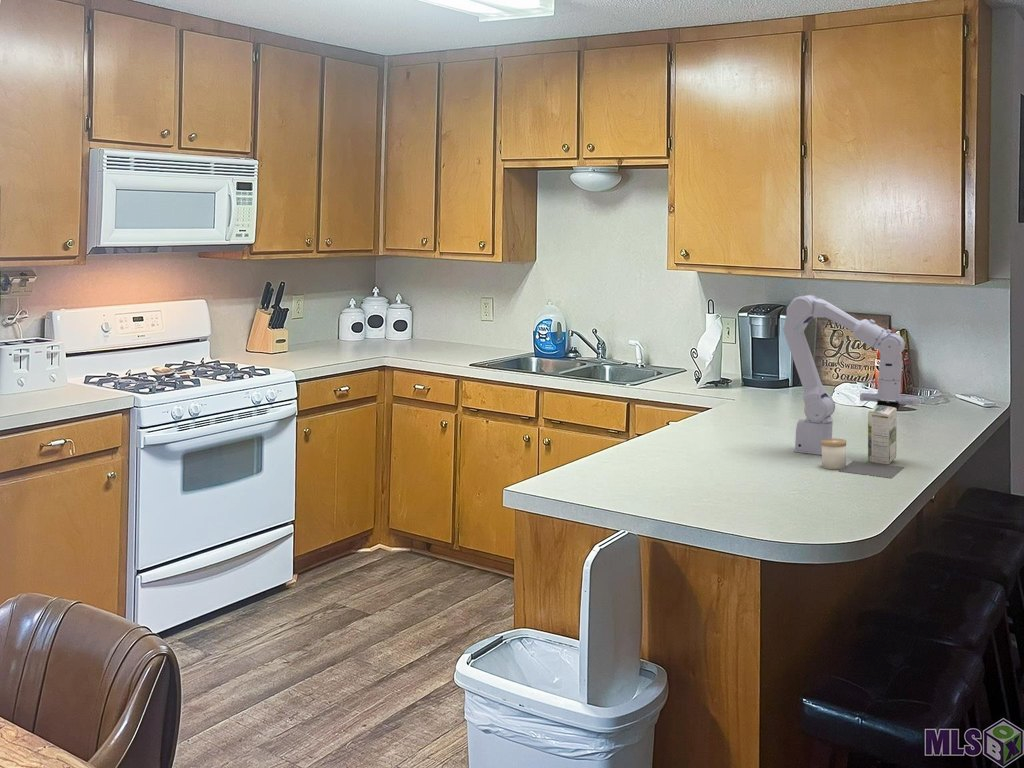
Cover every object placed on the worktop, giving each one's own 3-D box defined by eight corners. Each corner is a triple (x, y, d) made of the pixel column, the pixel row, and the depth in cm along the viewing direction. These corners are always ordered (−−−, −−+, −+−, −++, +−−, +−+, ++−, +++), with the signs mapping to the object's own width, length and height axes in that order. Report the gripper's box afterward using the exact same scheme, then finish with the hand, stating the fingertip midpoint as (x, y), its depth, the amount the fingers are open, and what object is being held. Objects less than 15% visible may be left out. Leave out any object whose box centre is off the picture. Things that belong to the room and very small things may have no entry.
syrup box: (875, 454, 269) (874, 404, 265) (897, 457, 265) (896, 406, 261) (867, 462, 265) (866, 411, 260) (890, 465, 261) (889, 414, 257)
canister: (818, 468, 258) (818, 441, 257) (825, 463, 263) (825, 437, 262) (842, 470, 254) (842, 443, 254) (849, 465, 260) (849, 439, 259)
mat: (838, 472, 254) (838, 470, 254) (853, 461, 265) (853, 460, 265) (891, 479, 247) (891, 477, 246) (904, 468, 258) (904, 467, 258)
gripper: (921, 379, 264) (918, 429, 266) (865, 375, 271) (862, 424, 273) (915, 383, 258) (912, 434, 260) (858, 378, 266) (856, 428, 268)
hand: (886, 429), depth 266 cm, fingers closed
